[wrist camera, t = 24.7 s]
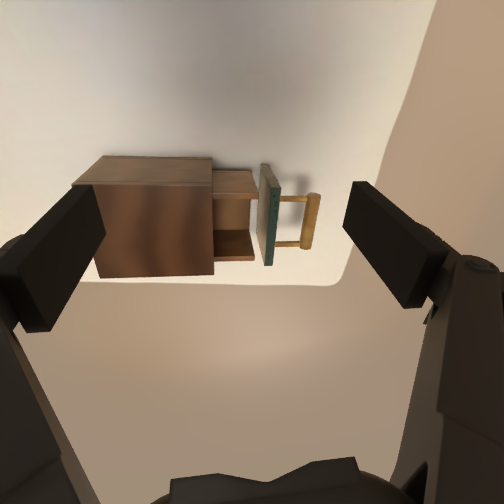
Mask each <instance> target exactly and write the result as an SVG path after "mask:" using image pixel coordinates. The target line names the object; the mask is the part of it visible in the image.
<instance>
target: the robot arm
mask: <svg viewBox="0 0 504 504" xmlns="http://www.w3.org/2000/svg"><path fill="white" fill-rule="evenodd" d="M342 227H343V228H344V230H345V231H346V232H347V234H348V235H349V236H350V238H351V239H352V240H353V242H354V243H355V244H356V246H357V247H358V248H359V250H360V251H361V252H362V254H363V255H364V256H365V258H366V259H367V260H368V262H369V263H370V264H371V266H372V267H373V268H374V269H375V271H376V272H377V274H378V275H379V276H380V278H381V279H382V280H383V282H384V283H385V284H386V286H387V287H388V288H389V290H390V291H391V292H392V294H393V295H394V296H395V298H396V299H397V300H398V302H399V303H400V305H401V306H402V307H403V308H404V309H410V308H422V306H423V304H424V302H425V300H426V298H427V296H428V297H429V298H430V299H431V300H432V301H433V305H432V307H431V309H430V311H429V313H428V315H427V317H426V318H425V320H424V323H423V324H425V325H426V324H427V326H426V330H425V335H424V340H423V344H422V349H421V353H420V358H419V363H418V367H417V372H416V377H415V381H414V386H413V390H412V395H411V400H410V404H409V409H408V414H407V418H406V423H405V427H404V432H403V436H402V441H401V446H400V450H399V455H398V460H397V463H396V466H395V469H394V472H393V474H392V476H391V479H390V481H389V482H388V481H386V480H384V479H382V478H380V477H378V476H376V475H373V474H370V473H367V472H364V471H360V470H359V468H358V466H357V462H356V460H355V457H346V458H338V459H331V460H322V461H315V462H310V463H308V464H306V465H304V466H302V467H300V468H298V469H296V470H293V471H292V472H289V473H287V474H285V475H283V476H281V477H279V478H277V479H275V480H273V481H270V482H261V481H256V480H251V479H245V478H240V477H235V476H230V475H224V474H219V473H216V474H208V475H200V476H192V477H184V478H176V479H171V481H170V492H169V494H167V495H165V496H163V497H161V498H159V499H157V500H156V501H154V502H153V503H151V504H504V272H500V271H499V269H498V267H496V266H495V265H494V264H493V263H491V262H489V261H487V260H485V259H483V258H480V257H477V256H472V255H461V254H459V253H458V252H457V251H456V250H454V249H453V248H452V247H451V246H450V245H448V244H447V243H446V242H445V241H442V239H441V238H440V237H439V236H437V235H435V233H434V232H432V231H431V230H430V229H429V228H427V227H425V226H423V225H421V224H419V223H417V222H415V221H414V220H412V219H411V218H410V217H409V216H408V215H407V214H405V213H404V212H403V211H402V210H401V209H399V208H398V207H397V206H396V205H395V204H393V203H392V202H391V201H390V200H389V199H387V198H386V197H385V196H384V195H383V194H381V193H380V192H379V191H378V190H377V189H375V188H374V187H373V186H372V185H371V184H369V183H368V182H367V181H353V184H352V188H351V192H350V196H349V201H348V205H347V209H346V213H345V218H344V222H343V226H342ZM105 236H106V230H105V227H104V223H103V220H102V216H101V213H100V209H99V206H98V202H97V199H96V195H95V192H94V189H93V185H92V184H78V185H74V186H73V187H72V188H71V189H70V190H69V191H68V192H67V193H66V194H65V195H64V196H63V197H62V198H61V199H60V200H59V201H58V202H57V203H56V204H55V205H54V206H53V207H52V208H51V209H50V210H49V211H48V212H47V213H46V214H45V215H44V216H43V217H42V218H41V219H40V220H39V221H38V222H37V223H36V224H34V225H33V226H32V227H31V228H30V229H29V230H28V231H27V232H26V233H25V234H23V235H19V236H17V237H15V238H13V239H11V240H10V241H8V242H6V243H5V244H4V245H3V246H2V247H1V248H0V504H100V502H99V500H98V498H97V496H96V494H95V492H94V490H93V488H92V486H91V484H90V482H89V480H88V478H87V476H86V474H85V472H84V470H83V468H82V466H81V464H80V462H79V460H78V458H77V456H76V454H75V452H74V450H73V448H72V446H71V444H70V442H69V440H68V439H67V436H66V434H65V432H64V430H63V428H62V426H61V424H60V422H59V420H58V418H57V416H56V414H55V412H54V410H53V409H52V406H51V404H50V402H49V401H48V399H47V396H46V394H45V392H44V390H43V389H42V387H41V385H40V383H39V381H38V378H37V377H36V374H35V373H34V371H33V369H32V366H31V364H30V362H29V361H28V359H27V357H26V355H25V353H24V351H23V349H22V347H21V345H20V343H19V341H18V339H17V337H16V335H15V334H14V332H13V329H14V328H15V327H16V325H17V323H18V322H20V323H21V325H22V327H23V328H24V330H25V331H26V333H36V332H50V331H51V330H52V328H53V326H54V324H55V323H56V321H57V319H58V317H59V315H60V314H61V312H62V310H63V309H64V307H65V305H66V303H67V302H68V300H69V298H70V297H71V295H72V293H73V291H74V289H75V288H76V286H77V284H78V283H79V281H80V279H81V277H82V276H83V274H84V272H85V270H86V269H87V267H88V265H89V263H90V262H91V260H92V258H93V257H94V255H95V253H96V251H97V250H98V248H99V246H100V244H101V243H102V241H103V239H104V237H105Z"/></svg>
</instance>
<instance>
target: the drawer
mask: <svg viewBox="0 0 504 504" xmlns="http://www.w3.org/2000/svg"><path fill="white" fill-rule="evenodd" d="M280 193H281V187H280V185H279V183H278V181H277V179H276V177H275V175H274V174H273V172H272V170H271V168H270V166H269V165H261V174H260V188H259V192H258V189H257V187H256V184H255V181H254V178H253V175H252V172H251V171H212V210H213V247H214V262H217V261H254V260H255V255H254V250H253V246H252V241H251V236H250V232H249V221H250V201H251V199H259V203H258V218H257V233H256V234H257V238H258V242H259V247H260V251H261V255H262V259H263V263H264V266H272V265H273V257H274V248H275V247H300V248H301V249H304V250H309V249H310V248H311V246H312V241H313V235H314V230H315V225H316V220H317V215H318V209H319V204H320V199H321V195H320V194H317V193H308V194H307V196H280ZM279 202H306V205H305V211H304V217H303V223H302V229H301V235H300V241H277V242H275V238H276V229H277V220H278V211H279Z"/></svg>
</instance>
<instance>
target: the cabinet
mask: <svg viewBox="0 0 504 504" xmlns="http://www.w3.org/2000/svg"><path fill="white" fill-rule="evenodd" d="M78 184H92V185H93V189H94V192H95V195H96V199H97V202H98V206H99V209H100V213H101V216H102V220H103V223H104V227H105V230H106V236H105V237H104V239H103V241H102V243H101V244H100V246H99V248H98V250H97V251H96V253H95V255H94V261H95V264H96V267H97V270H98V274H99V277H100V278H133V277H166V276H198V275H214V247H213V210H212V158H187V157H131V156H102V157H101V158H100V159H99V160H98V161H97V162H96V163H95V164H94V165H92V166H91V167H90V168H89V169H88V170H87V171H86V172H85V173H84V174H83V175H81V176H80V177H79V178H78V179H77V180H76V181H75V182H74V183H72V184H71V185H72V187H73V186H74V185H78Z"/></svg>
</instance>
